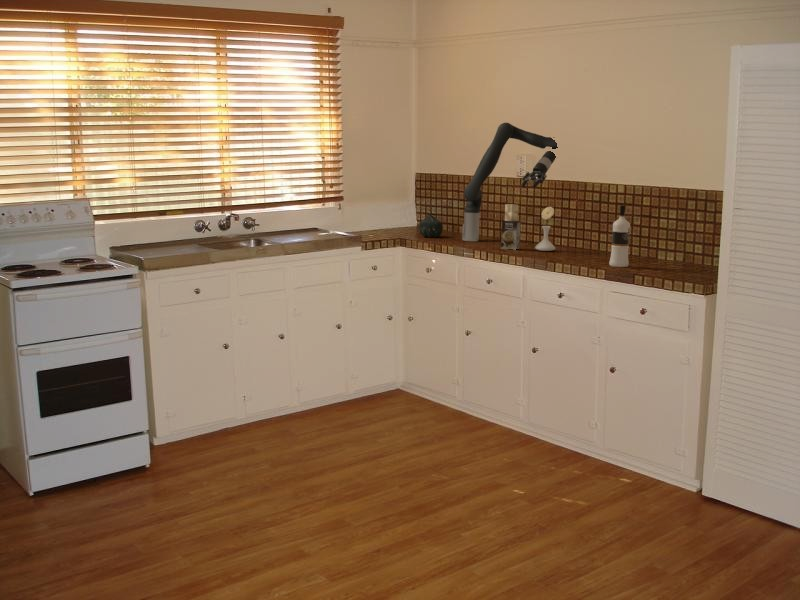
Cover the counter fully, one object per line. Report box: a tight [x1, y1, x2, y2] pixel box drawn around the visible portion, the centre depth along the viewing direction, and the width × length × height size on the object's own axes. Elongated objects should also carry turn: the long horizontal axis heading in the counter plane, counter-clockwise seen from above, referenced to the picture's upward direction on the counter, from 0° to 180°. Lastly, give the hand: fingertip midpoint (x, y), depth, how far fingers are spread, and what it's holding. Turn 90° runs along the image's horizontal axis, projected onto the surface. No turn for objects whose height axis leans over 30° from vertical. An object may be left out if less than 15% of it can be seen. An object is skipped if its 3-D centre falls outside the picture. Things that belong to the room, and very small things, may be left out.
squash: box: [418, 214, 443, 238], centre depth 555 cm, size 14×15×15 cm
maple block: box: [504, 203, 519, 221], centre depth 496 cm, size 5×5×9 cm
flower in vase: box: [534, 206, 556, 252], centre depth 493 cm, size 13×11×25 cm
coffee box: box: [500, 219, 522, 251], centre depth 498 cm, size 9×6×16 cm
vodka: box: [608, 204, 631, 268], centre depth 433 cm, size 9×9×30 cm
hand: (527, 186), depth 507 cm, fingers open, 8 cm apart
